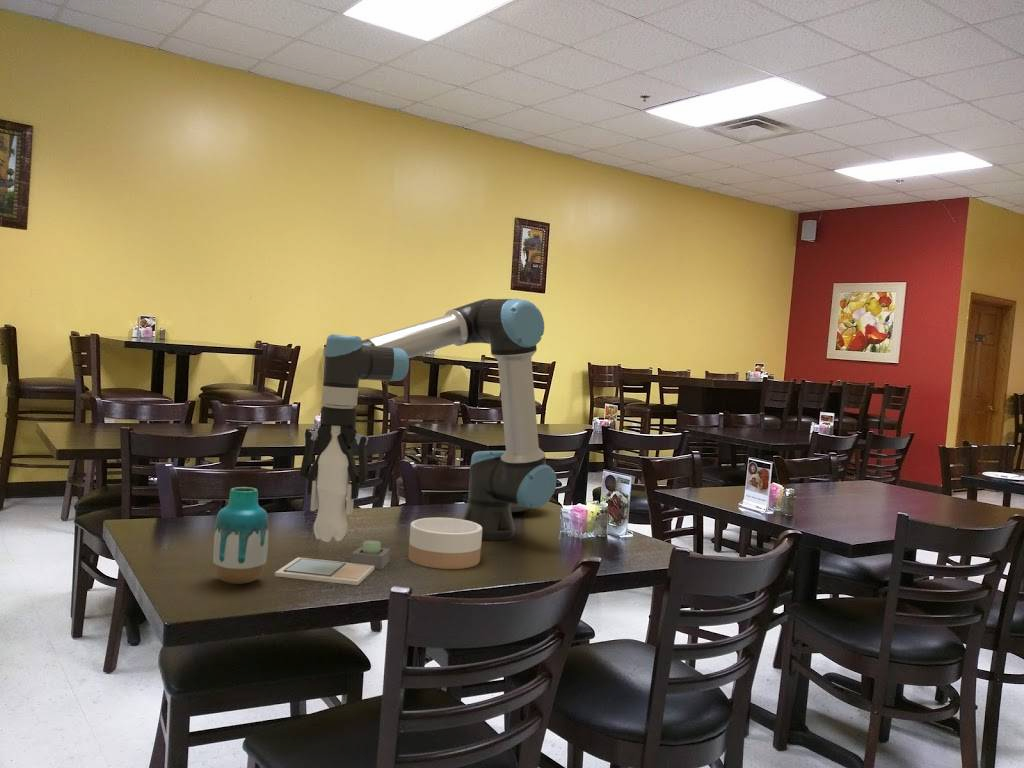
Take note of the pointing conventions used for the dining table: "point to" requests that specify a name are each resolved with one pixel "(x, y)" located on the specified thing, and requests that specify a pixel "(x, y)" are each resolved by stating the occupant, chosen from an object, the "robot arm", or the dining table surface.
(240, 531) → the vase
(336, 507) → the water bottle
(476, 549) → the bowl
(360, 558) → the button housing
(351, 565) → the cream rectangular board
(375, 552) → the button
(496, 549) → the dining table surface
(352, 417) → the robot arm
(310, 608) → the dining table surface
